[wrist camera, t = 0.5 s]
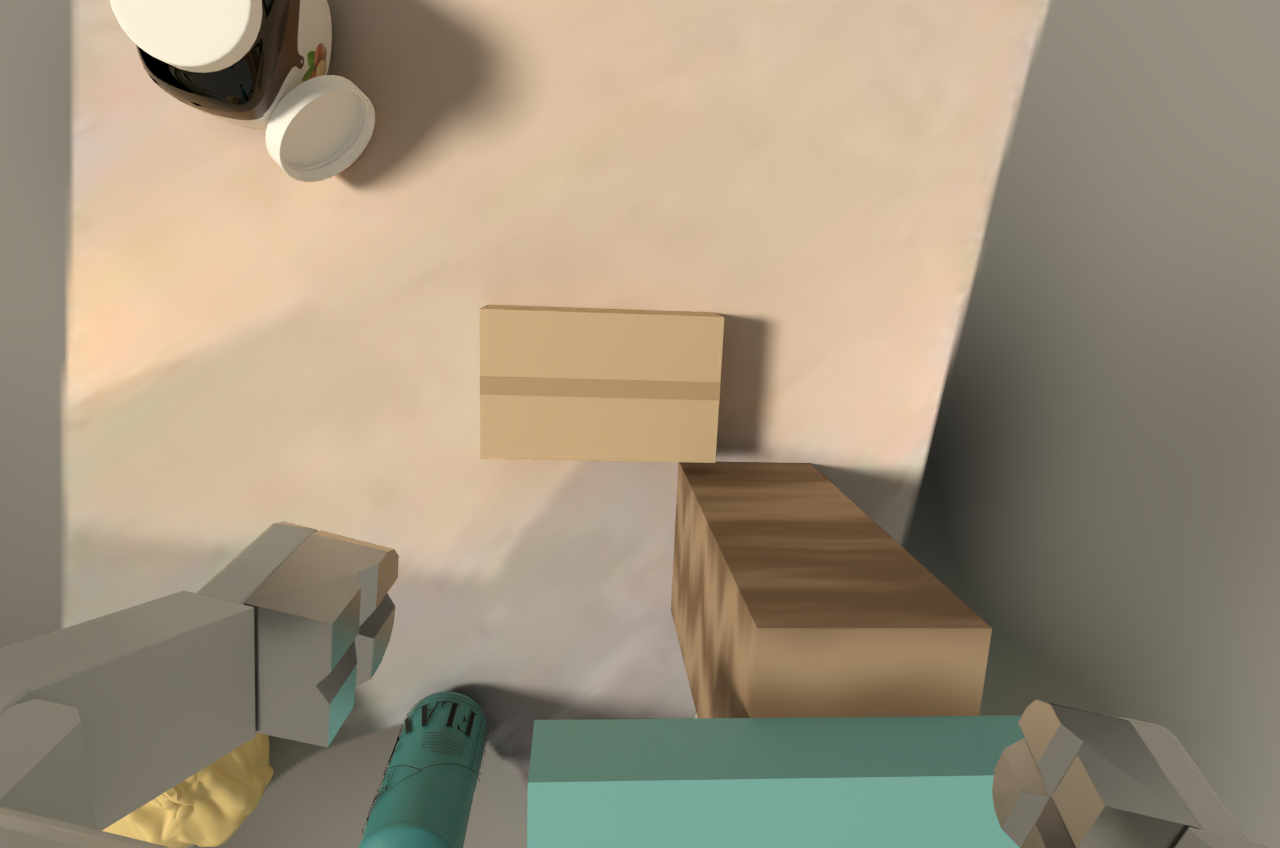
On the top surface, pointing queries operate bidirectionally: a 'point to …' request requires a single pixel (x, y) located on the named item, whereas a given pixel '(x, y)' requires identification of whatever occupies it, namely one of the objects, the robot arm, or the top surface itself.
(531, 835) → the teal carton
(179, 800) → the sculpture
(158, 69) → the spread jar
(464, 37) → the top surface
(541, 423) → the kraft parcel
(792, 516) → the walnut stand
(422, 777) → the beverage bottle
